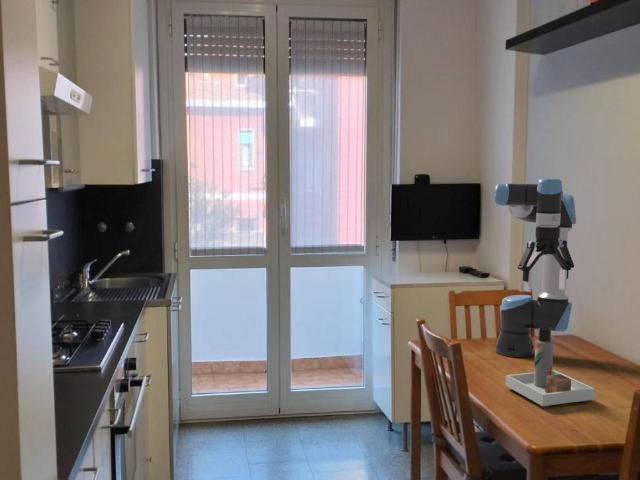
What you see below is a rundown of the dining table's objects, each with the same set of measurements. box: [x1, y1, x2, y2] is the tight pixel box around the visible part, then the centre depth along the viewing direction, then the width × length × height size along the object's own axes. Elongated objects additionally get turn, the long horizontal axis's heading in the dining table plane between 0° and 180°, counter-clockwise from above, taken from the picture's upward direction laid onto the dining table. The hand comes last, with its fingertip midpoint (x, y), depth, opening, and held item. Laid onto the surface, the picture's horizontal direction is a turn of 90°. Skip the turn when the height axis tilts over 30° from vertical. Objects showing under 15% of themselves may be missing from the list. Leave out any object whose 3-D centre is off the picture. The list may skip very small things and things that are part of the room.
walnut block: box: [545, 374, 571, 393], centre depth 210 cm, size 6×6×6 cm
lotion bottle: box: [533, 326, 554, 388], centre depth 218 cm, size 6×6×20 cm
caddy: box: [505, 369, 596, 409], centre depth 215 cm, size 20×20×5 cm
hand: (545, 290), depth 215 cm, fingers open, 13 cm apart
